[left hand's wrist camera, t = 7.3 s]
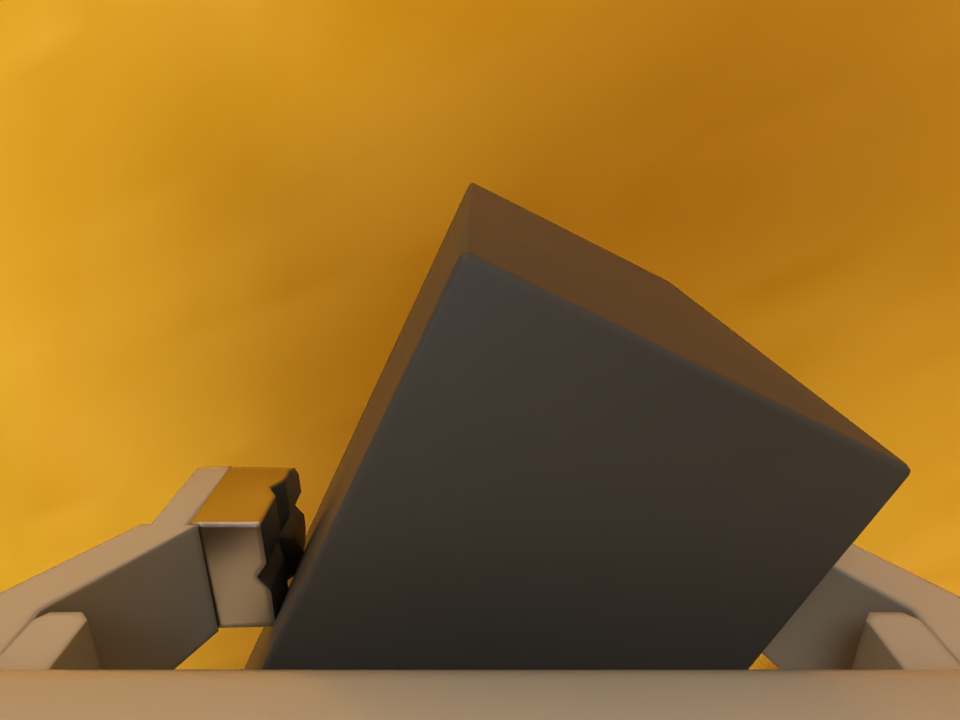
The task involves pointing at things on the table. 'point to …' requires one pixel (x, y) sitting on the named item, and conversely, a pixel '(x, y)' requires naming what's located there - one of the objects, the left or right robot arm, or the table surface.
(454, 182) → the table surface
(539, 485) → the bar
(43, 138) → the table surface
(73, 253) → the table surface
